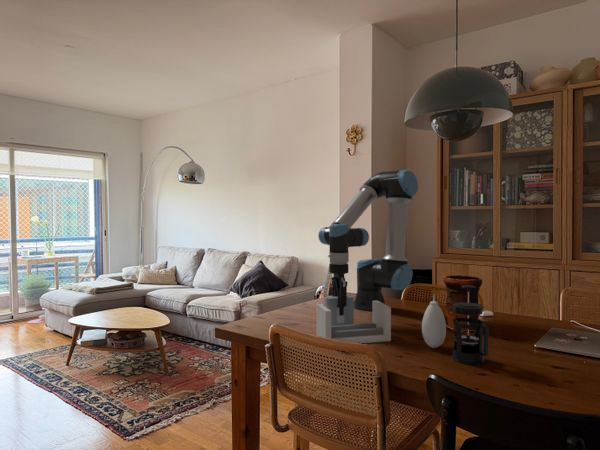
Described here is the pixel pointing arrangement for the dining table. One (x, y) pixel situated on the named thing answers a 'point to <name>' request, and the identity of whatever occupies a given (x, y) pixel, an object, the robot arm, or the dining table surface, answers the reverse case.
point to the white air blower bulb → (434, 325)
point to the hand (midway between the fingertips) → (339, 321)
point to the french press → (468, 351)
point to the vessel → (460, 296)
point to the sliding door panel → (348, 310)
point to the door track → (376, 317)
